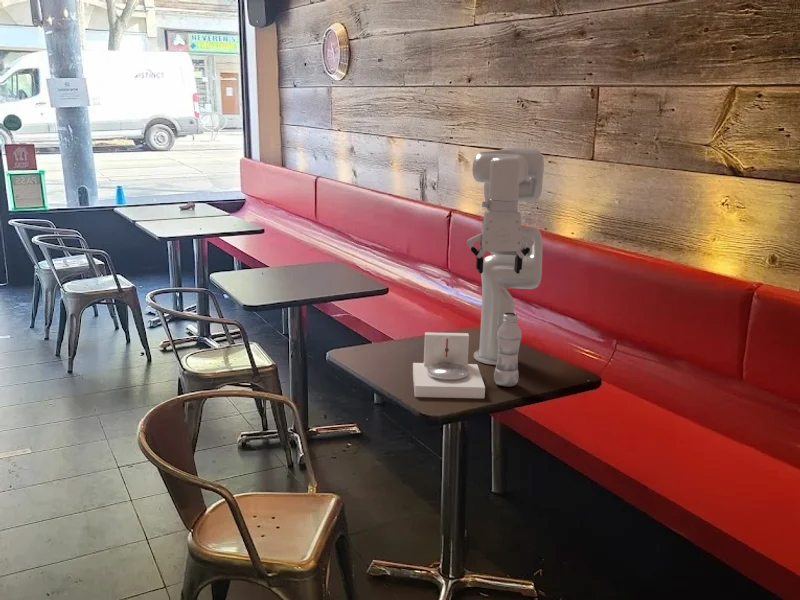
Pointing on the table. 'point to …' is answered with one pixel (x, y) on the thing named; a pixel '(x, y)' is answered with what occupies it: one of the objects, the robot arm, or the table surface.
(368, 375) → the table surface
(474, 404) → the table surface
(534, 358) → the table surface
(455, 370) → the scale pan
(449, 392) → the scale
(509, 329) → the plastic bottle
